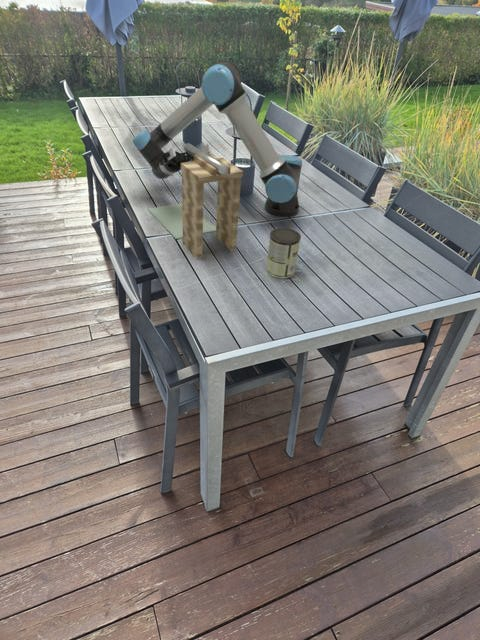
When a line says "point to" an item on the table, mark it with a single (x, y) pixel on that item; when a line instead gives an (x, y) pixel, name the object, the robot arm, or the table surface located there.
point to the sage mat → (176, 220)
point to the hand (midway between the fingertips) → (192, 149)
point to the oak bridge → (193, 202)
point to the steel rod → (206, 158)
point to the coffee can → (282, 252)
